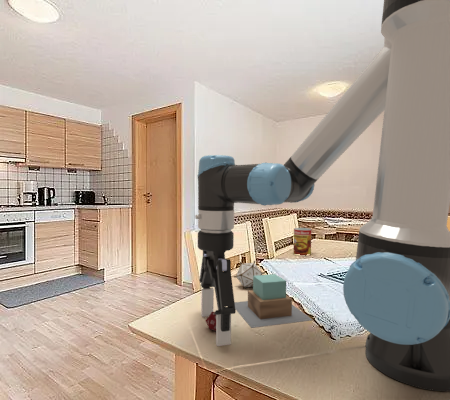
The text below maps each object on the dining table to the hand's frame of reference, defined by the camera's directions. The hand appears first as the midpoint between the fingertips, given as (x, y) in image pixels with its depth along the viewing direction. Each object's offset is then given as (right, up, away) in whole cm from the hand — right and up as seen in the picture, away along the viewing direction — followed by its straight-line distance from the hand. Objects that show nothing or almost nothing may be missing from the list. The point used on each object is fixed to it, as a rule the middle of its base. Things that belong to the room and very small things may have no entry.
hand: (214, 329), depth 65 cm
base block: (+13, 0, +10) cm, 16 cm away
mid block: (+13, +4, +10) cm, 17 cm away
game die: (+10, +1, +29) cm, 30 cm away
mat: (+13, 0, +10) cm, 16 cm away
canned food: (+38, +2, +77) cm, 86 cm away
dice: (0, 0, 0) cm, 0 cm away
